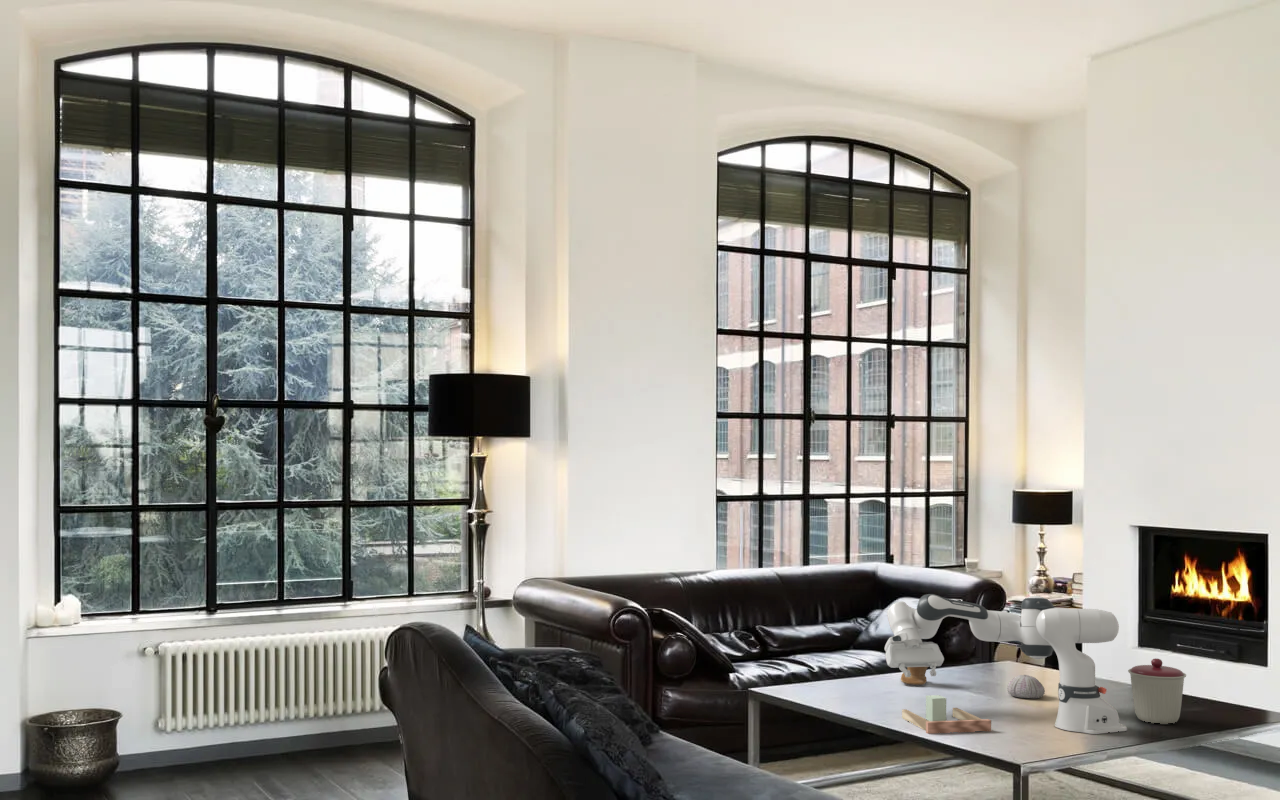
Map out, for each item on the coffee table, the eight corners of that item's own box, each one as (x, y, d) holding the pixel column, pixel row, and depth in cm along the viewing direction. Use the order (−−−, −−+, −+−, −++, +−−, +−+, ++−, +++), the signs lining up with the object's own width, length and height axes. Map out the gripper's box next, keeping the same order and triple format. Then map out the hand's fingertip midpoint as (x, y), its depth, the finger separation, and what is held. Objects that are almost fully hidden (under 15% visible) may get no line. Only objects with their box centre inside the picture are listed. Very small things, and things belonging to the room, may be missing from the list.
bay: (959, 716, 402) (959, 706, 402) (991, 731, 380) (991, 720, 381) (899, 718, 398) (899, 708, 398) (927, 733, 376) (927, 722, 376)
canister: (1120, 714, 408) (1120, 653, 409) (1174, 716, 407) (1173, 654, 408) (1139, 726, 390) (1139, 662, 391) (1195, 728, 389) (1195, 663, 390)
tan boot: (930, 688, 452) (930, 648, 453) (899, 686, 455) (899, 646, 456) (932, 681, 466) (932, 642, 467) (902, 679, 470) (902, 641, 471)
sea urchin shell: (1005, 692, 446) (1005, 671, 446) (1042, 694, 443) (1042, 672, 443) (1008, 699, 433) (1008, 677, 433) (1047, 701, 430) (1047, 679, 430)
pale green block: (939, 719, 398) (939, 695, 398) (946, 722, 393) (946, 698, 393) (925, 719, 397) (925, 695, 397) (932, 722, 392) (932, 698, 392)
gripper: (933, 647, 420) (946, 680, 410) (879, 648, 416) (891, 681, 406) (939, 636, 416) (952, 669, 406) (885, 638, 412) (896, 671, 402)
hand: (921, 675), depth 406 cm, fingers open, 8 cm apart
